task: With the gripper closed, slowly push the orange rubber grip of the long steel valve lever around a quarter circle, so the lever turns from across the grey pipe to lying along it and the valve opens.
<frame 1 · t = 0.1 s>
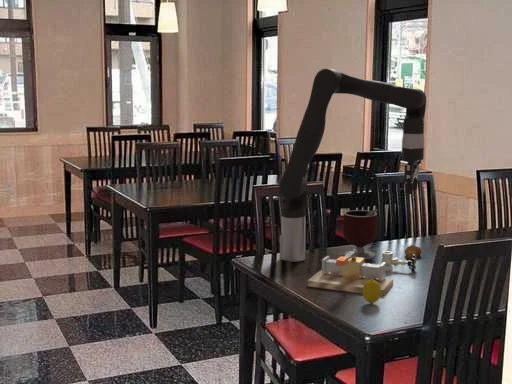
hand: (411, 192, 223), 29 cm above the table, fingers open, 8 cm apart
pipe valve: (353, 265, 215), on the valve board, point 6 cm above the table
mate gourd: (361, 256, 250), on the table
lemon: (371, 304, 194), on the table
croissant: (413, 257, 248), on the table
valve lever: (347, 256, 208), point 11 cm above the table, hinge at 0.0°
valve: (398, 271, 229), on the table
valve board: (350, 285, 213), on the table
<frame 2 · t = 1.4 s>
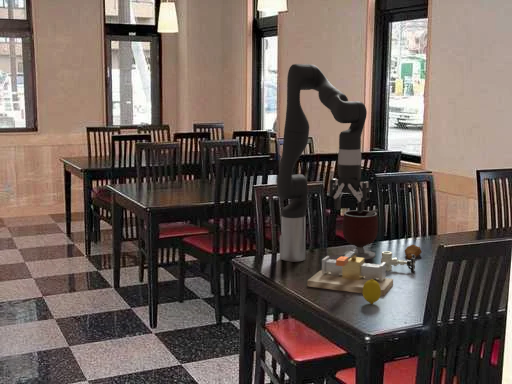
hand: (349, 211, 209), 25 cm above the table, fingers open, 8 cm apart
nothing on the table moved.
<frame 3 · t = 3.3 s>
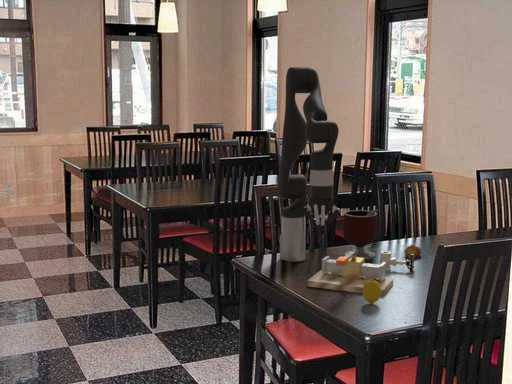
hand: (321, 236, 204), 18 cm above the table, fingers closed
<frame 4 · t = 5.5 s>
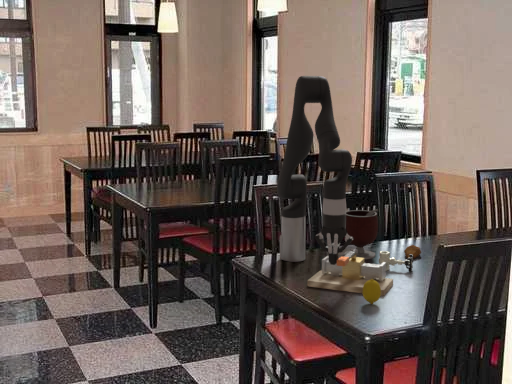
hand: (333, 264, 204), 10 cm above the table, fingers closed
valve lever: (347, 256, 208), point 11 cm above the table, hinge at 1.0°, touching gripper
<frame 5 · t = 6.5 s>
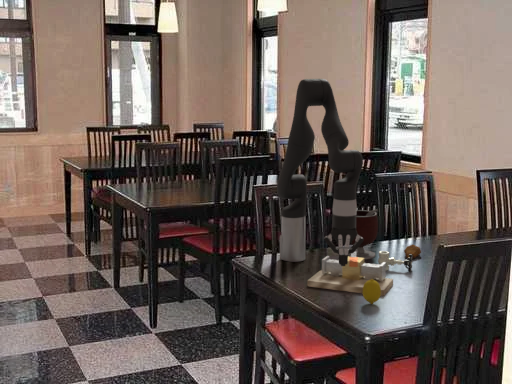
hand: (343, 265, 202), 10 cm above the table, fingers closed
valve lever: (353, 257, 207), point 11 cm above the table, hinge at 16.0°, touching gripper
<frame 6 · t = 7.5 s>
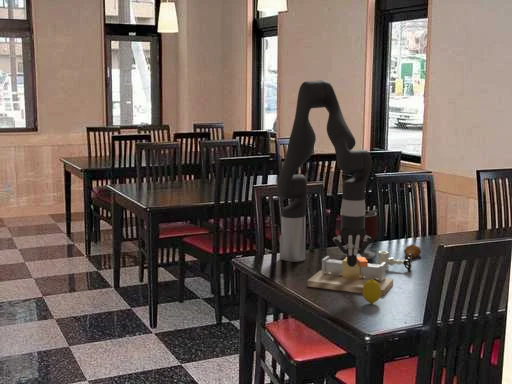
hand: (351, 266, 201), 10 cm above the table, fingers closed
valve lever: (358, 257, 207), point 11 cm above the table, hinge at 27.8°, touching gripper
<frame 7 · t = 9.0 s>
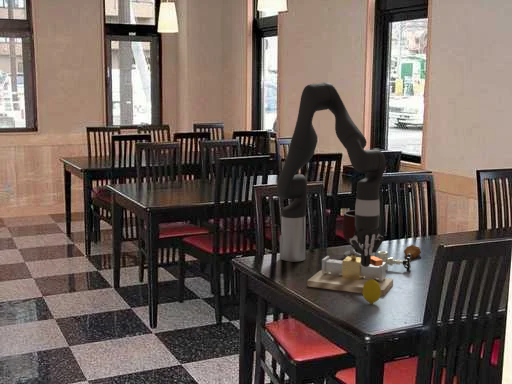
hand: (365, 266, 201), 10 cm above the table, fingers closed
valve lever: (364, 256, 207), point 11 cm above the table, hinge at 47.3°, touching gripper
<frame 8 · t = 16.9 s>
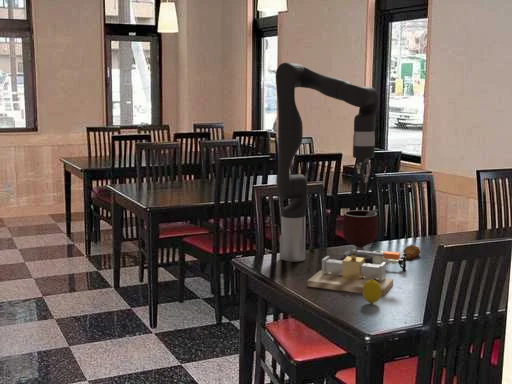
hand: (362, 192, 224), 29 cm above the table, fingers closed
valve lever: (374, 253, 211), point 11 cm above the table, hinge at 90.1°
valve: (388, 270, 231), on the table
everything else where it was.
at the end: valve lever at +90° (first picture: +0°); lemon moved 0.2 cm from its start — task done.
